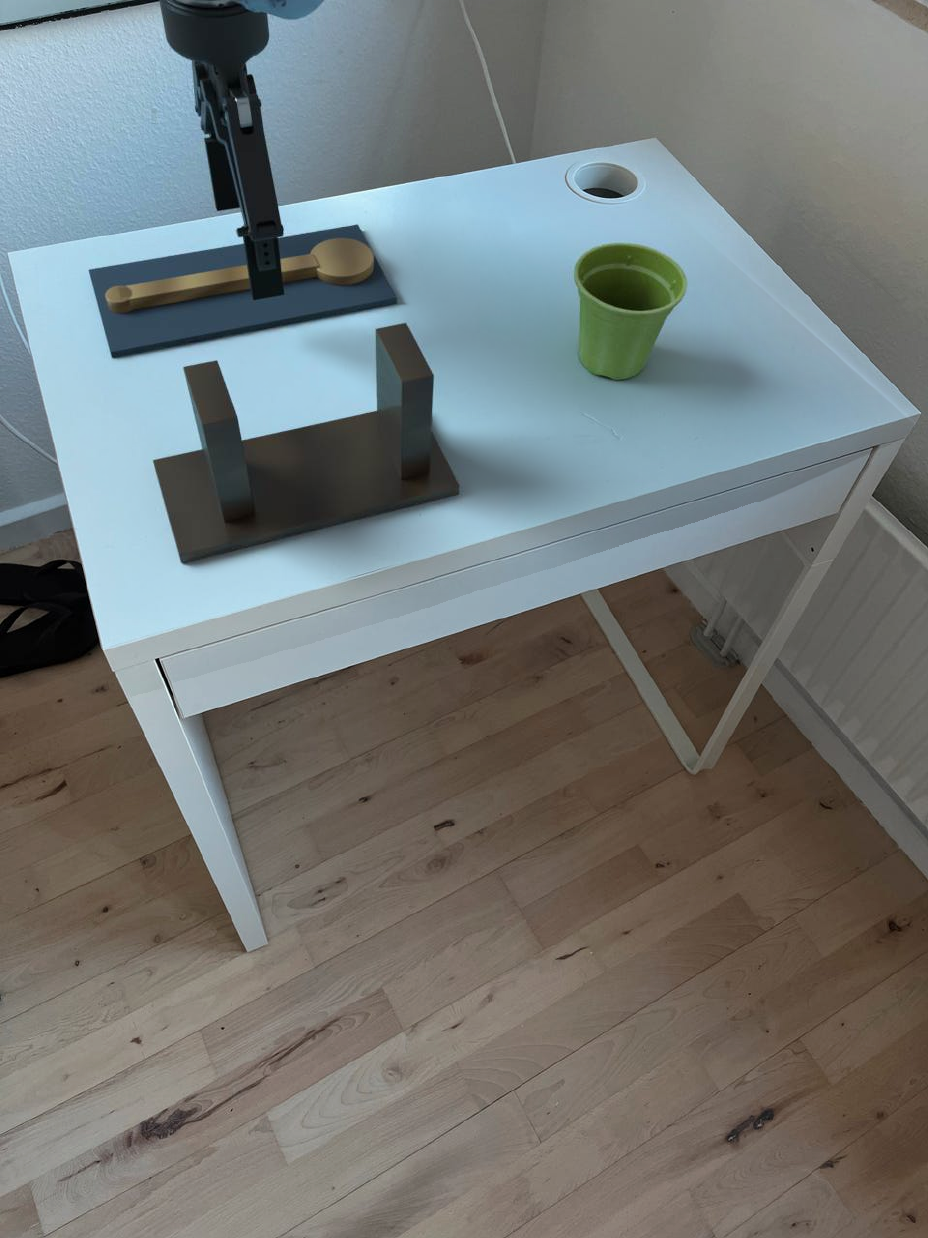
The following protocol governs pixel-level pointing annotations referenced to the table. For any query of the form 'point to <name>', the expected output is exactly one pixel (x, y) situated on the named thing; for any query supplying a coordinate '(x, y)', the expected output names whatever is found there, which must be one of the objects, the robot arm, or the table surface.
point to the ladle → (327, 262)
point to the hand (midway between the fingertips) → (248, 249)
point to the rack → (305, 461)
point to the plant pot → (624, 305)
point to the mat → (229, 297)
